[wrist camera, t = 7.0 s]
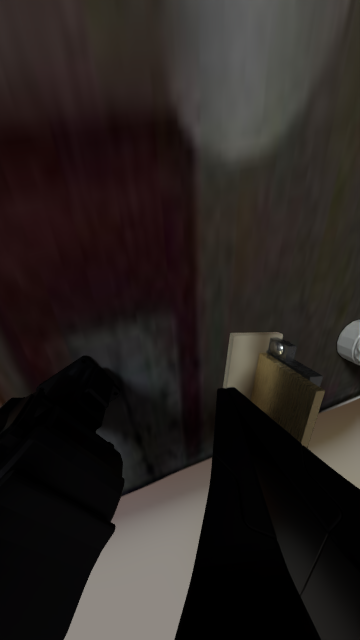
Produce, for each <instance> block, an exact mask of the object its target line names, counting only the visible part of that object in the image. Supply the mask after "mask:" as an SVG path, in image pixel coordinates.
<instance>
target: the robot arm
mask: <svg viewBox="0 0 360 640" xmlns="http://www.w3.org/2000/svg"><path fill="white" fill-rule="evenodd" d="M83 359H85V360H86V362H84V361H83ZM41 388H44V389H41ZM36 390H37V391H36V392H35V393H33V394H30V395H29V396H27V397H26V398H25V397H23V398H11V399H9V400H8V401H7V402H5V403H4V404H3V405H2V406H1V407H0V640H64V638H65V636H66V633H67V631H68V629H69V626H70V624H71V621H72V618H73V616H74V613H75V611H76V608H77V605H78V603H79V600H80V598H81V595H82V592H83V590H84V587H85V585H86V582H87V580H88V578H89V575H90V573H91V571H92V569H93V567H94V565H95V563H96V561H97V559H98V557H99V555H100V553H101V551H102V549H103V548H104V546H105V545H106V543H107V542H108V540H109V539H110V537H111V536H112V534H113V533H114V531H115V524H113V523H111V520H112V518H113V516H114V514H115V511H116V508H117V506H118V503H119V500H120V498H121V495H122V491H123V487H124V478H122V467H123V461H122V458H121V455H120V453H119V452H118V451H117V450H115V449H114V445H113V444H112V443H110V442H107V441H106V440H104V439H103V438H102V437H100V436H99V435H98V434H96V430H97V429H98V428H100V427H101V425H102V421H103V417H104V413H105V410H106V408H107V407H108V405H109V402H111V401H112V400H114V399H115V398H116V397H118V396H119V395H120V389H119V388H118V387H117V386H116V385H115V384H114V381H113V380H112V379H111V378H110V377H109V376H108V375H107V374H106V373H105V371H104V370H103V369H102V368H100V367H98V366H97V365H96V364H95V363H94V362H93V361H92V360H91V359H90V358H89V357H88V356H82V357H81V358H79V359H78V360H76V361H75V362H73V363H72V364H70V365H69V366H67V367H66V368H64V369H63V370H61V371H60V372H58V373H57V374H55V375H54V376H52V377H50V378H49V379H47V380H46V381H44V382H43V383H41V384H40V385H39V386H38V387H37V389H36ZM114 392H118V393H114ZM175 640H360V489H359V488H357V487H355V486H354V485H353V484H352V483H350V482H349V481H347V480H346V479H345V478H344V477H342V476H341V475H340V474H338V473H337V472H336V471H335V470H333V469H332V468H331V467H329V466H328V465H327V464H326V463H325V462H323V461H322V460H321V459H319V458H318V457H317V456H316V455H315V454H313V453H312V452H311V451H310V450H309V449H308V448H306V447H305V446H304V445H303V446H302V444H301V443H300V442H299V441H298V440H297V439H296V438H294V437H293V436H292V435H291V434H290V433H288V432H287V431H286V430H285V429H284V428H283V427H281V426H280V425H279V424H278V423H277V422H275V421H274V420H273V419H272V418H271V417H270V416H268V415H267V414H266V413H265V412H264V411H262V410H261V409H260V408H259V407H258V406H256V405H255V404H254V403H253V402H252V401H251V400H249V399H248V398H247V397H246V396H245V395H243V394H242V393H241V392H240V391H239V390H237V389H236V388H235V387H228V388H219V389H217V402H216V416H215V430H214V444H213V457H212V469H211V479H210V486H209V492H208V498H207V504H206V508H205V514H204V519H203V524H202V529H201V534H200V539H199V544H198V549H197V554H196V559H195V564H194V568H193V573H192V577H191V582H190V585H189V589H188V593H187V597H186V600H185V604H184V607H183V611H182V615H181V618H180V622H179V625H178V629H177V633H176V636H175Z"/></svg>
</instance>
